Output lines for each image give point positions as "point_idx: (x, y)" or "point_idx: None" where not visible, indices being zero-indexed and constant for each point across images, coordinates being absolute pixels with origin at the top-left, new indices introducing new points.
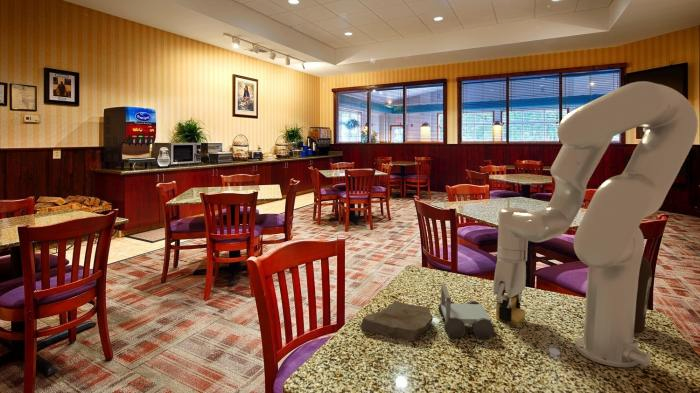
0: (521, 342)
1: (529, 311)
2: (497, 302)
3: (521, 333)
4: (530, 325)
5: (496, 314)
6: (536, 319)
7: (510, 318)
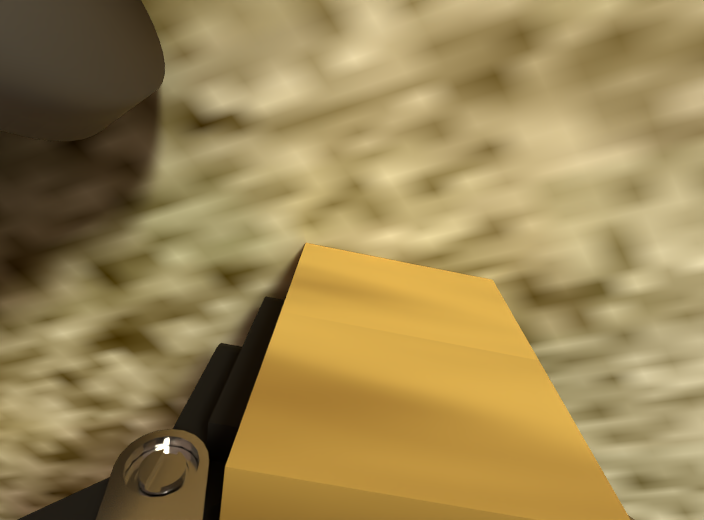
0: (7, 490)
1: (676, 456)
2: (256, 397)
3: None
4: None
5: (296, 270)
6: None
7: None
